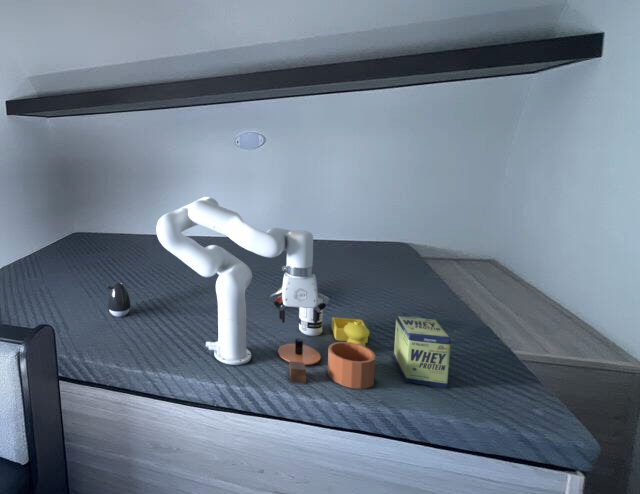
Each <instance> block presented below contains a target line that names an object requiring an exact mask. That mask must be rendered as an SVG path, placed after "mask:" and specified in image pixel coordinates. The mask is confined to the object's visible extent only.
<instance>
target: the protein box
mask: <svg viewBox="0 0 640 494" xmlns="http://www.w3.org/2000/svg"><path fill="white" fill-rule="evenodd" d="M451 343H452V339H451V337H450V336H449V335H448V334H447V333H446V331H445V330H444V329H443V327H442V326H441V325H440V324H439V322H438V321H437V320H436V319H435V318H434V317H426V316H415V315H406V314H396V315H395V331H394V350H393V358H394V360H395V362H396V364H397V366H398V368H399V370H400V372H401V375H402V376H403V379H404V380H405V382H406V383H411V384H417V385H425V386H433V387H438V388H445V389H447V388H448V381H449V368H450V358H451V357H450V356H451V345H452V344H451Z"/></svg>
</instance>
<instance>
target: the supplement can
mask: <svg viewBox="0 0 640 494" xmlns="http://www.w3.org/2000/svg"><path fill="white" fill-rule="evenodd" d="M322 301H323V300H322V299H320V298H318V305H319V304H320V303H321V302H322ZM298 310H299V311H298V329H299V331H300V332H301V333H302V334H304V335H307V336H314V337H315V336H319V335H321V334H322V333H323V315H324V313H323V312H324V309H323V310H321V312H320V316H319V321H318V322H317V325H316V324H315V323H314V321H313V310H314V308H302V307H298Z"/></svg>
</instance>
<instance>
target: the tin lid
mask: <svg viewBox="0 0 640 494" xmlns="http://www.w3.org/2000/svg"><path fill="white" fill-rule="evenodd" d="M277 354H278V355H279V357H280V358H281V359H282V360H284V361H286V362H288V363H289V361H292V362H303V363H304V364H305V366H313V365H316V364H318V363H319V362H320V361H321V359H322V358H321V357H322V355H321V353H320V352H319V351H318V350H316V349H315V348H313V347H311V346H309V345H306V344H304V340H303V339H302V338H300V337H296V338H295V340H294V343H286V344H282V345H281V346H279V347H278V349H277Z"/></svg>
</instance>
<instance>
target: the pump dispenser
mask: <svg viewBox="0 0 640 494" xmlns="http://www.w3.org/2000/svg"><path fill="white" fill-rule="evenodd" d="M106 288H107V289H108V290H110V291H109V294H108V299H107V309H108V310H109V314H111V315H112V316H114V317H116V318H117V317H118V318H121V317H125V316H126V315H128V313H129V312H130V310H131V305H132V304H131V299H130V295H129V292H128V290H127V288H126V285H125V284H124V283H122V282H121V281H116V282H114V283H113V284H112V285H107V286H106Z"/></svg>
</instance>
